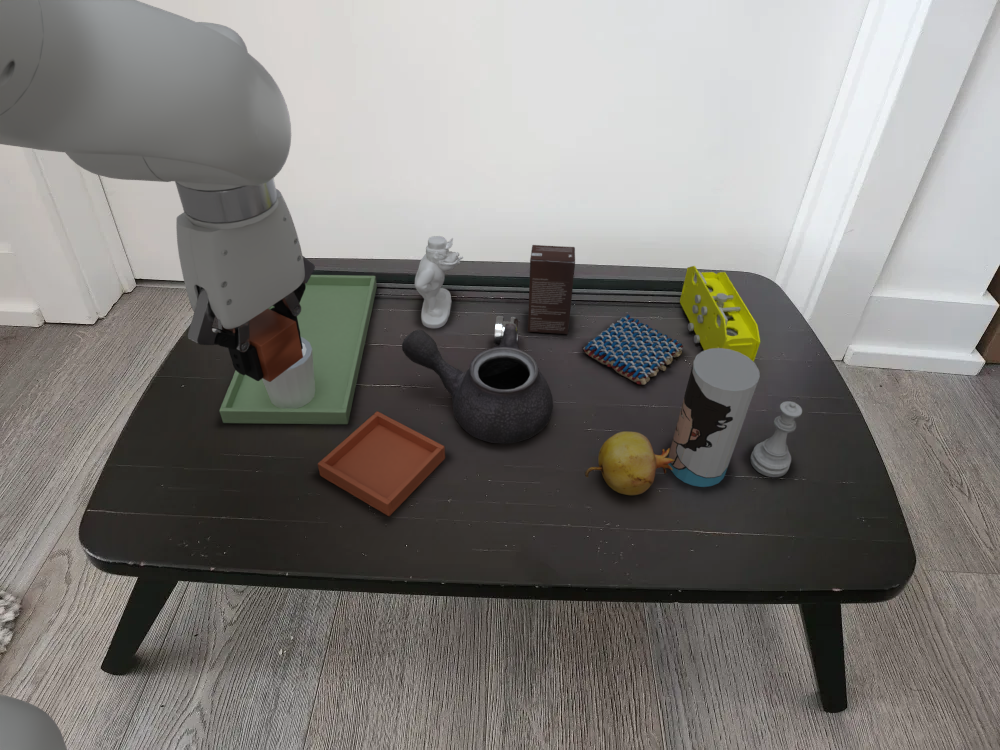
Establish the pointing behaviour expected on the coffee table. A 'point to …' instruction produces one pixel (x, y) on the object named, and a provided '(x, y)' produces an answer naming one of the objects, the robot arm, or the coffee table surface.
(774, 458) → the chess piece
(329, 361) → the sage tray
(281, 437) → the coffee table surface
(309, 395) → the grey tapered cup
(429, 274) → the figurine
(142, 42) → the robot arm
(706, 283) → the yellow toy chassis
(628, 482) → the fruit
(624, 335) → the woven mat
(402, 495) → the terracotta tray
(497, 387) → the teapot
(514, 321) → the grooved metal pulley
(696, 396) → the grey printed cylindrical canister
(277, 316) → the block
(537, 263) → the box
